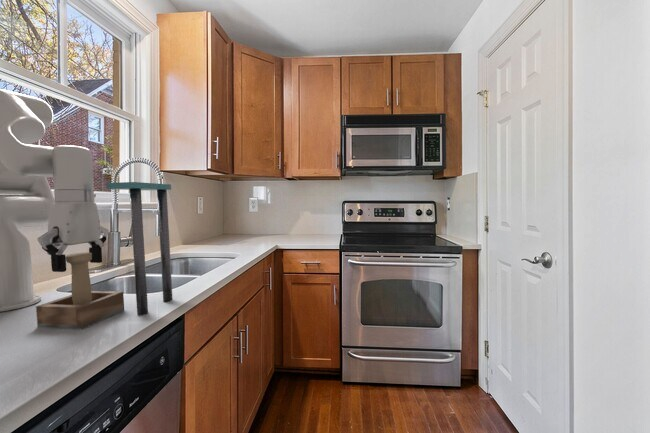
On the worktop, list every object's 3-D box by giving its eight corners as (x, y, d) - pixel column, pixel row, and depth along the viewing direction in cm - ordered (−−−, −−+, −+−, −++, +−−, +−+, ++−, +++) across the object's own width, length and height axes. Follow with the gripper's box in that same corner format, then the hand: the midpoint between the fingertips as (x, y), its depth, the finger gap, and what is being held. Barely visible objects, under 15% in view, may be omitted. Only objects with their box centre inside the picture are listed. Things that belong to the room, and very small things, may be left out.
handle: (68, 320, 72) (63, 257, 72) (73, 312, 78) (68, 253, 77) (93, 315, 75) (89, 255, 74) (96, 308, 80) (92, 251, 80)
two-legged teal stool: (115, 315, 77) (106, 183, 75) (153, 298, 91) (147, 185, 89) (142, 316, 76) (134, 181, 74) (177, 298, 90) (170, 184, 88)
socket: (37, 327, 71) (35, 306, 71) (84, 308, 83) (83, 290, 83) (82, 329, 70) (81, 307, 69) (124, 310, 81) (123, 291, 81)
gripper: (92, 197, 84) (96, 259, 85) (22, 197, 67) (27, 275, 68) (117, 197, 83) (120, 260, 84) (52, 197, 66) (56, 276, 67)
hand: (78, 266), depth 76 cm, fingers open, 9 cm apart
